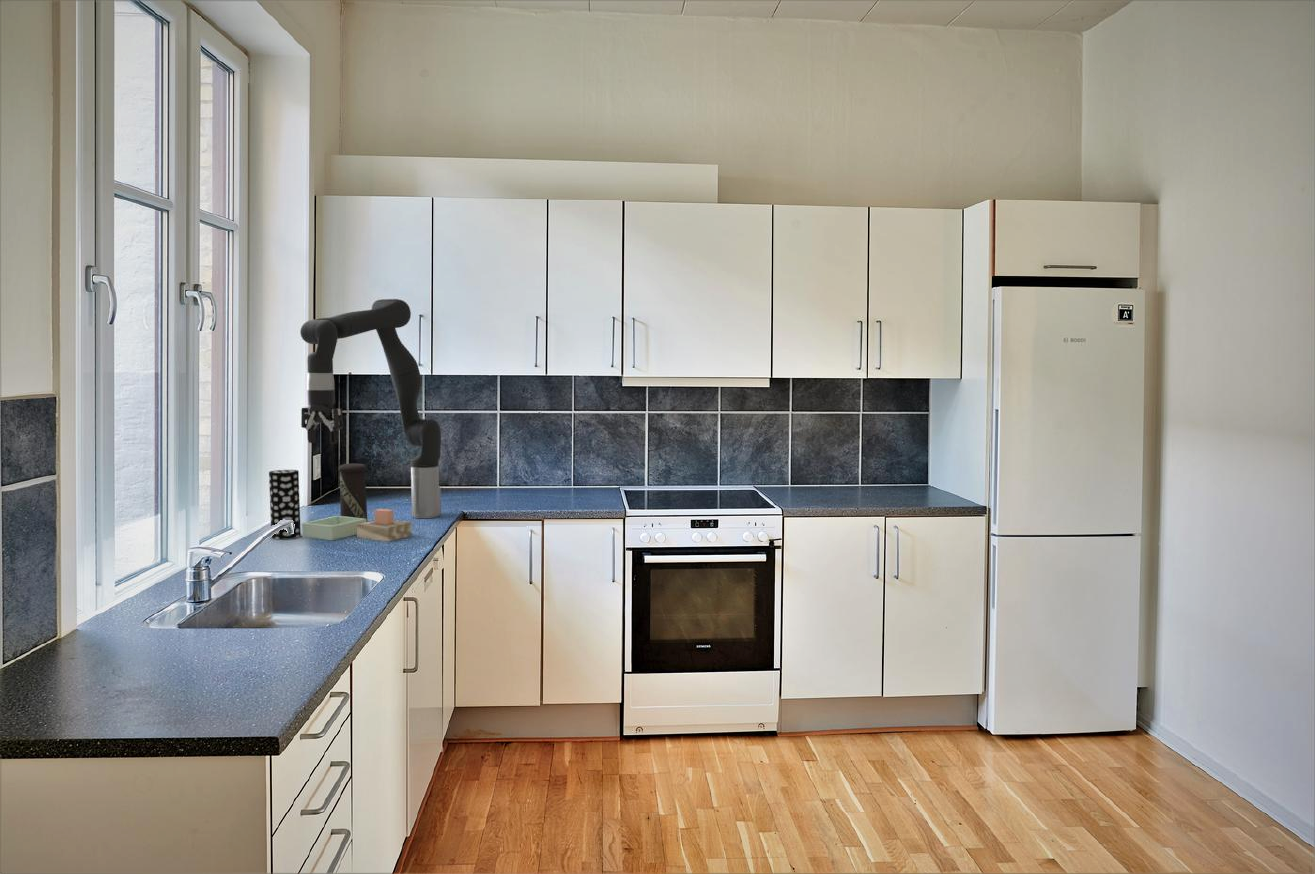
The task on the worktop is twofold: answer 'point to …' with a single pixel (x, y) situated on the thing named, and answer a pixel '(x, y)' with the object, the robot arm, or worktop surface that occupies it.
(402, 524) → the brown hollow flat block
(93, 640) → the worktop surface
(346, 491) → the container
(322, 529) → the bin
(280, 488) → the spotted tube
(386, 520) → the salmon orange block
